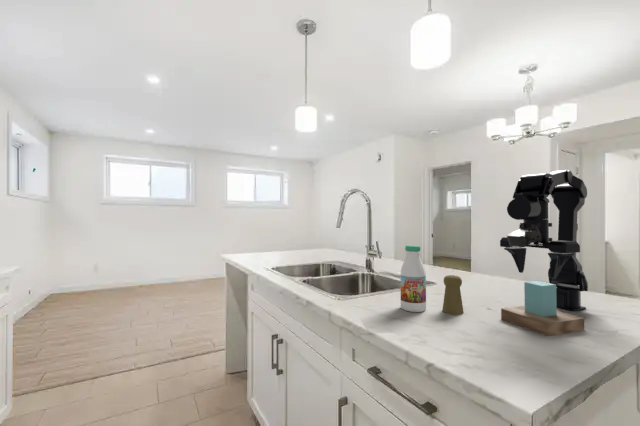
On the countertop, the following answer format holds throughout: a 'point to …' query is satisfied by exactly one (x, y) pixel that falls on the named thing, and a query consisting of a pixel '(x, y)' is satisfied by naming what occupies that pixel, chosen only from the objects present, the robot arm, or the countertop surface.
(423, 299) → the milk bottle
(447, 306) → the cork
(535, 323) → the wooden board
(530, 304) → the teal block
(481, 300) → the countertop surface
